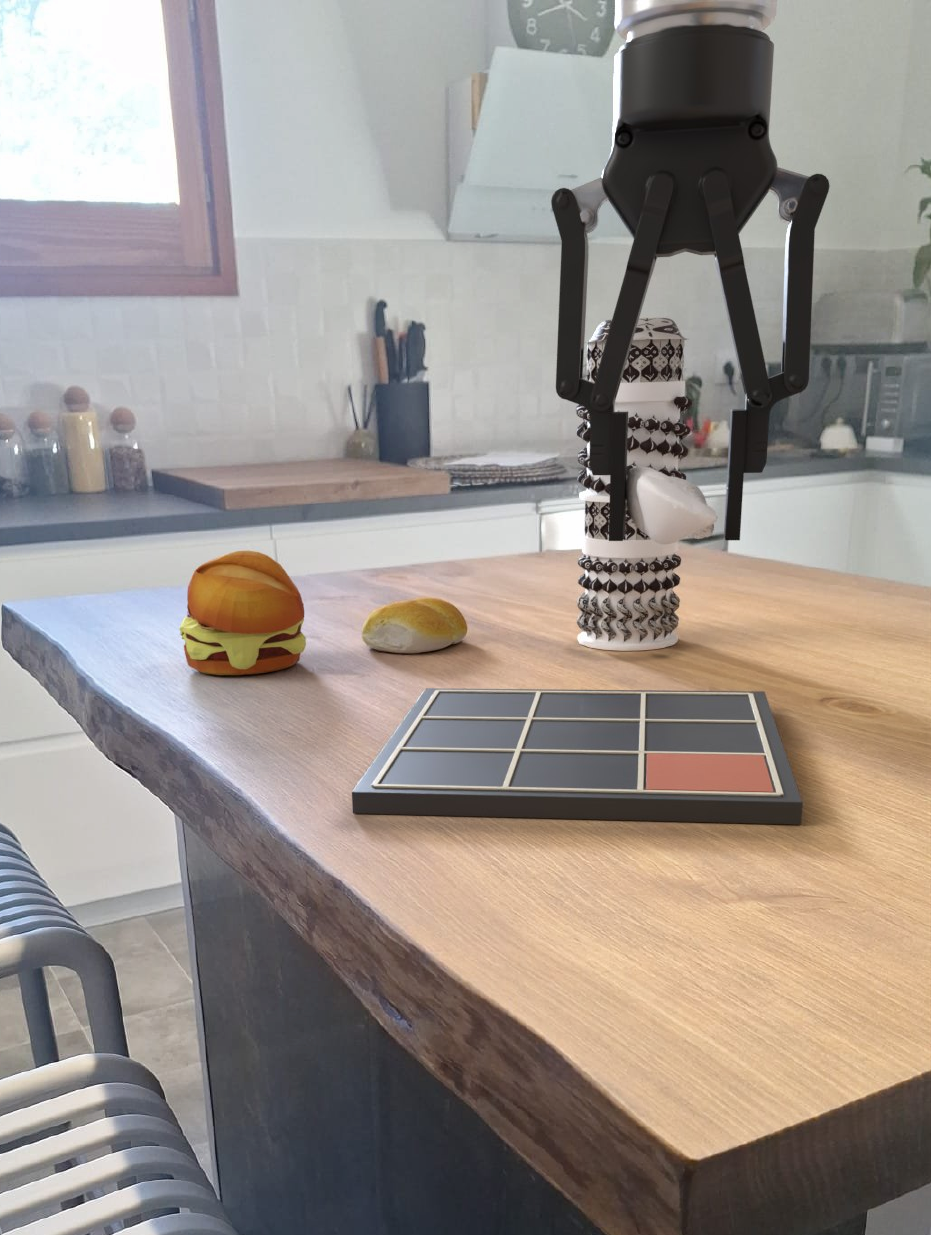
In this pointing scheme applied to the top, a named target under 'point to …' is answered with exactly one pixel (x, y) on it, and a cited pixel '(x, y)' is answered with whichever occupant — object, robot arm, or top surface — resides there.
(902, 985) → the top surface
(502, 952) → the top surface
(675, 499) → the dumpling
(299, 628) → the cheeseburger
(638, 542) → the decorative candle
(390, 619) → the bread roll
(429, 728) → the board
